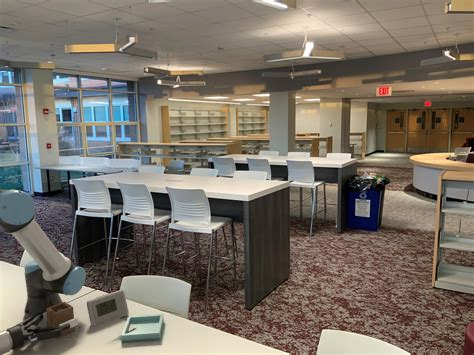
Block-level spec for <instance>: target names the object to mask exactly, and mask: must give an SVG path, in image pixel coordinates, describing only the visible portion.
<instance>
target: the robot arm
mask: <svg viewBox="0 0 474 355" xmlns="http://www.w3.org/2000/svg"><path fill="white" fill-rule="evenodd" d="M35 206H36V204H35V202H34V199H33V197H32V196H31V195H29V194H28V193H27V192H25V191H22V190H17V189H0V229H1V230H2V231H3V232H4V233H5V234H9V235H10V234H11V235H12V236H13V237H14V238H15V239H16V241H17V242H18V243H19V244H20V246H22V248H23V249H24V250H25V251H26V252H27V254H28V255H29V256H30V257H31V258H32V260H33V261H29V262H28V263H27V264H26V265H25V266H24V278H25V288H26V289H25V290H26V296H27V298H26V303H25V306H24V311H23V312H24V317H25V319H24V320H23V321H21V322H19V323H17V324H15V325H14V326H10V327H9V328H6V330H5V329H2V330H0V355H4V354H7V353H9V352H11V350H12V351H15V350H17V349H19V348H21V347H23V346H24V344H25V343H26V341H30V344H35V343H37V342H43V341H42V340H47V339H51V338H56V337H60V336H62V332H63V331H65V330H67V329H70V328H72V327H74V326H76V325H78V324H79V323H78V318H77V317H74V319H72V320H69V321H67V322H64V323H62V324H60V325H59V326H56V327H48V326H46V327H41V326H38V325H39V324H40V323H41V322H42V321H47V312H46V308H49V307H51V306H54V305H57V304H59V303H62V302H64V301H63V300H62V298H61V296H60V295H64V296H74V295H77V294H78V293H79V292H80V291H81V290H82V289H83V286H84V285H85V282H86V277H87V276H86V275H87V274H86V271H85V269H84V268H83V267H81V266H79V265H78V266H76V265H74V263H73V262H72V260H71V259H70V258H69V257H67V256H63V255H62V254H61V253H60V251H59V250H58V249H57V248H56V246H55V244H53V242H52V241H51V239H50V238H49V236H47V234H46V233H45V232H44V230H43V229H42V228H41V227H40V226H41V225H40V224H38V223H37V221H36V220H35V218H36V209H35Z"/></svg>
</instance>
